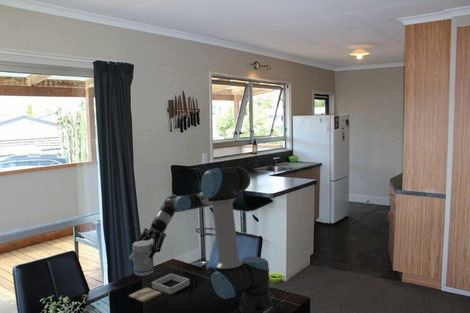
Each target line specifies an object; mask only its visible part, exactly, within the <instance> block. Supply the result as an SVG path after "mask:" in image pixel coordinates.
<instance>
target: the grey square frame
mask: <svg viewBox="0 0 470 313" xmlns="http://www.w3.org/2000/svg"><path fill="white" fill-rule="evenodd" d="M171 280H172V281H174V282H177V283H176V284H175V285H173V286H171V287H170V286H166V285H164V284H165V283H167V282H170V281H171ZM190 280H191V279H190V278H187V277H184V276H180V275H178V274H174V273H169V274H166V275H165V276H162V277H160V278H158V279H156V280H154V281H151V289H153V290H156V291H159V292H161V293H162V292H163V293H165V294H169V295H172V294H174V293H176V292H179V291H180V290H182V289H184V288H186V287H189V286H190V285H191V282H190Z"/></svg>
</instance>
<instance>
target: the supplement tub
mask: <svg viewBox="0 0 470 313" xmlns="http://www.w3.org/2000/svg"><path fill="white" fill-rule="evenodd" d="M134 242H135V241H134ZM134 242H133V243H132V246H131V248H132V251H133V261H132V264H133V273H134V274H135V275H136V276H141V277H143V276H147V275H150V274H152V273H153V272H154V271H155V265H154V264H155V263H154V257H153V258H152V259H151V260H150V262H149V264H148V265H146V264H145V263H143V262H144V260H145V258H146V256H147V255H148V253H149V251H150V250H151V249H152V245H153V241H151V240H148V241H147V240H144V241H137V242H135V243H134ZM151 251H152V250H151Z"/></svg>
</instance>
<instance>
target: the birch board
mask: <svg viewBox="0 0 470 313" xmlns="http://www.w3.org/2000/svg"><path fill="white" fill-rule="evenodd" d="M160 295H162V291H159V290H156V289H154V288H150V287H143V288H142V289H139V290H137V291H135V292H133V293H131V294H129V295H128V297H129V298H130V299H131V298H132V299H133V300H136V301H138V302H141V303H146V302H148V301H150V300H152V299H154V298H156V297H158V296H160Z"/></svg>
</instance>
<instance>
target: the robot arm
mask: <svg viewBox="0 0 470 313" xmlns="http://www.w3.org/2000/svg"><path fill="white" fill-rule="evenodd" d="M250 184H251V175H250V174H249V172H248V170H247V169H245V168H244V167H241V166H238V165H237V166H228V167H227V166H226V167H219V168H218V167H216V168H213V169H209V170H208V169H207V171H205V172H204V173H203V175H202V177H201V182H200V190H201V192H197V193H194V194H193V193H191V194H186V195H177V194H174V193H169V194H168V195H167V197H166V198H165V200H164V202H163V204H162V205H161V207H160V209H159V210H158V212H157V213H156V215H155V217H154V219H153V220H152V222H151V225H150V228H144V229H143V230H142V232H141V233H140V235H139V236H138V237H137V239H136V240H135V241H134V242H133V243H135V242H137V241H144V240H147V241H151V240H152V239H153V240H152V249H151V250H152V251H151V250H150V251H149V253H148V255H147V256H146V258H145V260H144V262H143V263H145V264H146V265H148V264H149V262H150V260H151V259H152V258H153V259H154V255H155V254H156V253H160V252H161V249H162V246H163V243H164V240H165V238H166V237H167V233H165V231H166V229H167V228H168V225H169V224H170V222H171V221H172V219H173V216H174V215H175V214H176V213H179V212H180V213H181V212H185V211H191V210H195V209H200V208H208V207H210V206H212V214H213V222H214V231H215V232H214V233H215V242H216V250H217V251H216V252H217V259H218V261H217V262H216V264H215V271H214V272H213V273H211V276H210V281H211V285H212V288H213V290H214V291H215V293H216V294H217V296H218V297H220V298H221V299H223V300H224V299H225V300H226V299H230V298H234V297H236V296H238V295H241V297H240V301H239V311H240V313H263V312H264V311H265V310H267V309H268V308H270V307H273V308H274V303H273V299H272V296H271V294H270V267H269V262H268V260H267V259H266V258H263V257H259V256H244V257H242V260H241V259H240V257H239V252H238V251H239V250H238V241H237V240H238V239H237V231H236V223H235V216H234V206H233V203H234V201H235V200H236V194H239V193H242V192H244V191H246V190H247V189H248V188H249V186H250ZM128 259H130V260H131V261H132V262H133V250H132V251H131V254H130V256H129V257H128Z"/></svg>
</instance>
